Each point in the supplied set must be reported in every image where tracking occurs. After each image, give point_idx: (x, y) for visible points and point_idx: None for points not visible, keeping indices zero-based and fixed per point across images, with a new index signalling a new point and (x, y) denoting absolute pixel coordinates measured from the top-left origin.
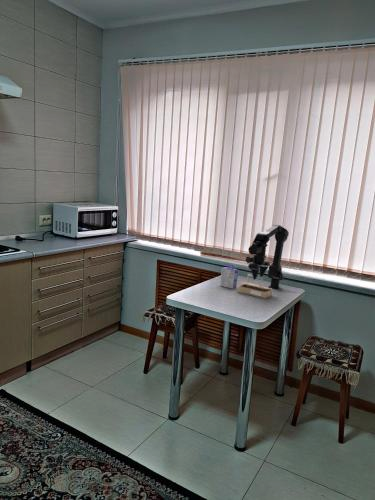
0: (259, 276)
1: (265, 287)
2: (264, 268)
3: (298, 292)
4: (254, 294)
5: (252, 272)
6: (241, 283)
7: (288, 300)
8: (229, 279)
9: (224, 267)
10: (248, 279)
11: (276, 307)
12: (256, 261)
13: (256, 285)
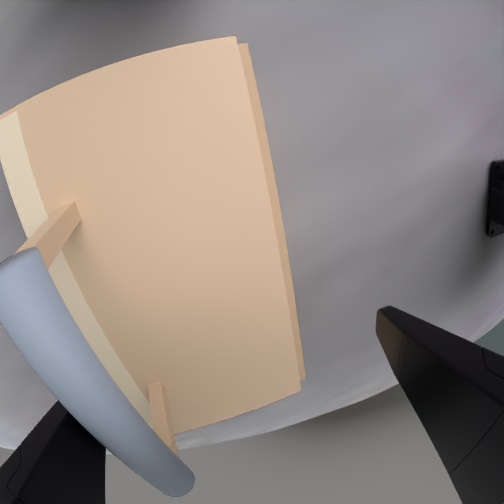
0: (146, 477)
1: (233, 383)
2: (474, 488)
3: (485, 328)
4: None
5: (3, 473)
6: (7, 164)
7: (290, 419)
8: None
9: None
10: (56, 249)
11: None
12: None
13: (190, 299)
